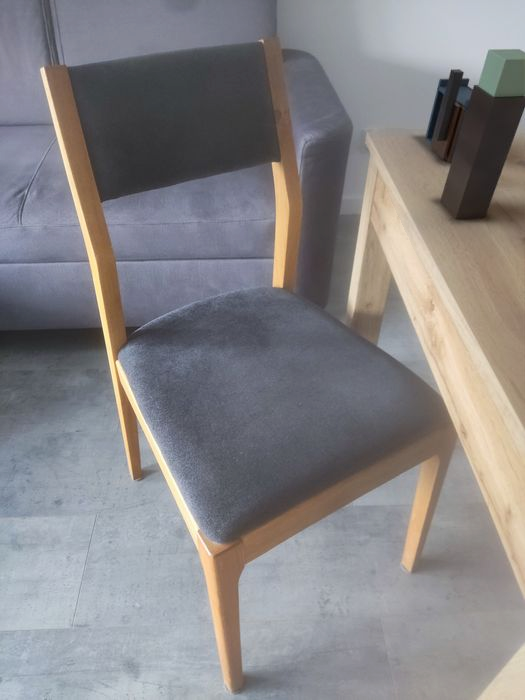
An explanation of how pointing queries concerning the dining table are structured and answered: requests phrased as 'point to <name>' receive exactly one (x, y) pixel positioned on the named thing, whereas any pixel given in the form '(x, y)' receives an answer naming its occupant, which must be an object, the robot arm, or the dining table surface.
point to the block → (504, 73)
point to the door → (447, 115)
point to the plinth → (481, 153)
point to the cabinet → (463, 102)
